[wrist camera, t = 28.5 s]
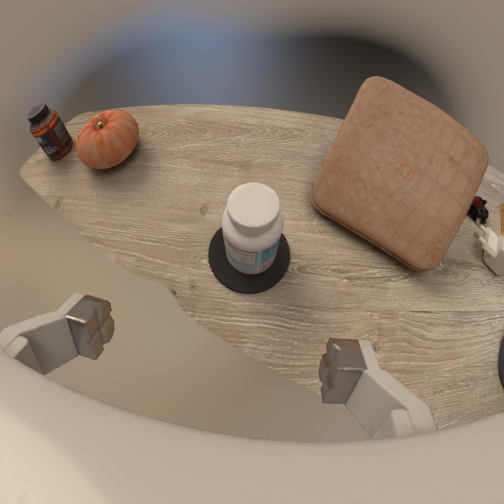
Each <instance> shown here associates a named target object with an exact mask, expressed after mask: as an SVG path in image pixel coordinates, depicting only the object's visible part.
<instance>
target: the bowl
mask: <svg viewBox="0 0 504 504" xmlns="http://www.w3.org/2000/svg"><path fill="white" fill-rule="evenodd" d="M499 359H500V360H499V365H500V376H501V381H502V383H503V385H504V337H503V341H502V345H501V350H500V358H499Z"/></svg>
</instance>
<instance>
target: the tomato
mask: <svg viewBox="0 0 504 504" xmlns="http://www.w3.org/2000/svg"><path fill="white" fill-rule="evenodd" d="M138 137H139V128H138V124H137V122H136V120H135V119H134V118H133V117H132V116H131V115H130V114H129V113H127V112H125V111H122V110H107V111H104V112H101V113H99V114H98V115H96V116H94V117H92V118H91V119H90V120H89V121H87V122H86V123H85V125H84V127H83V128H82V129H81V131H80V132H79V135H78V138H77V142H76V150H77V154H78V156H79V158H80V159H81V161H82V162H83V163H84V164H85V165H87V166H89V167H91V168H95V169H106V168H110V167H113V166H115V165H117V164H119V163H121V162H122V161H124V160H125V159H126V158H127V157H128V156H129V155H130V154H131V153H132V151H133V150H134V148H135V146H136V144H137V141H138Z"/></svg>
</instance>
